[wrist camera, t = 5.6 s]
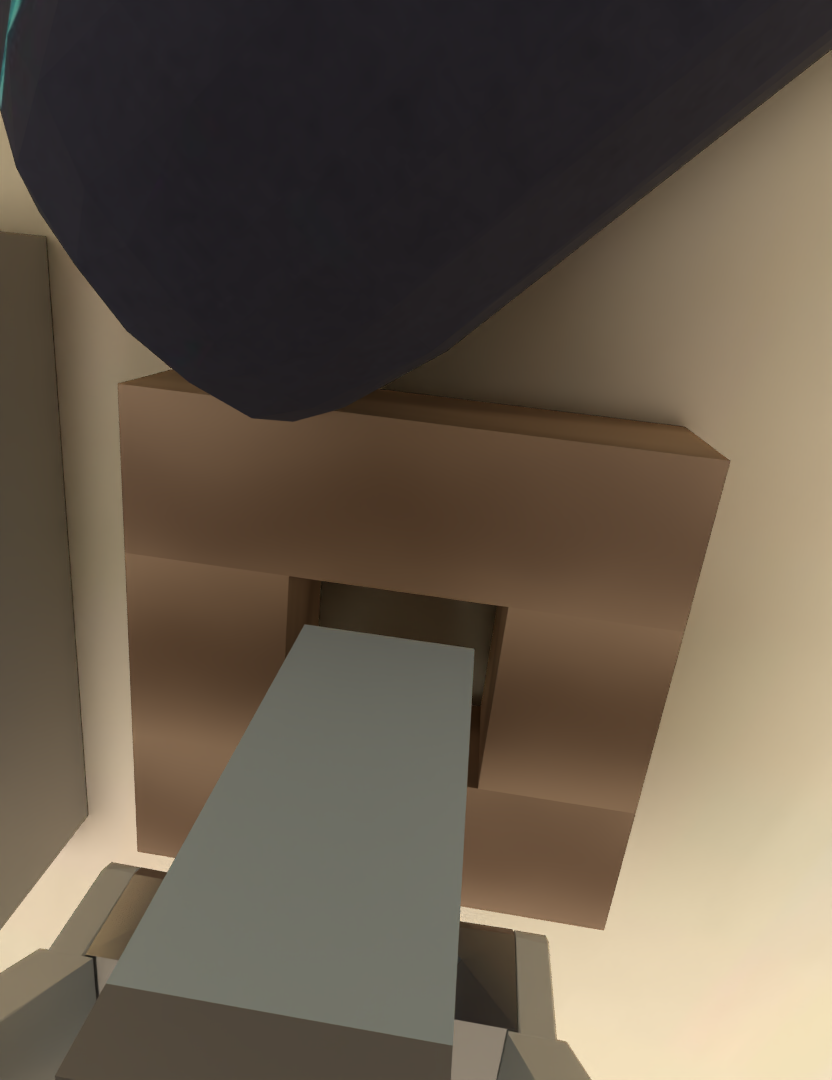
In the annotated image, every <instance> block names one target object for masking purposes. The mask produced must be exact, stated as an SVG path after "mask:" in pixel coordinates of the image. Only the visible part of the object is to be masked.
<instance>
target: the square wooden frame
mask: <svg viewBox="0 0 832 1080" xmlns="http://www.w3.org/2000/svg"><path fill="white" fill-rule="evenodd" d="M118 404H119V427H120V451H121V474H122V498H123V521H124V545H125V568H126V592H127V615H128V639H129V662H130V686H131V709H132V733H133V756H134V780H135V803H136V827H137V850H138V852H143V853H149V854H155V855H161V856H167V857H173V858H176V856H177V854H178V852H179V850H180V849H181V847H182V845H183V843H184V841H185V839H186V838H187V836H188V834H189V832H190V830H191V829H192V827H193V825H194V823H195V821H196V820H197V818H198V816H199V814H200V812H201V811H202V809H203V807H204V805H205V803H206V802H207V800H208V798H209V796H210V794H211V792H212V791H213V789H214V787H215V785H216V783H217V782H218V780H219V778H220V776H221V774H222V773H223V771H224V769H225V767H226V765H227V764H228V762H229V760H230V758H231V756H232V755H233V753H234V751H235V749H236V747H237V746H238V744H239V742H240V740H241V738H242V736H243V735H244V733H245V731H246V729H247V727H248V726H249V724H250V722H251V720H252V718H253V717H254V715H255V713H256V711H257V709H258V708H259V706H260V704H261V702H262V700H263V699H264V697H265V695H266V693H267V691H268V689H269V688H270V686H271V684H272V682H273V680H274V679H275V677H276V675H277V673H278V671H279V670H280V668H281V666H282V664H283V662H284V661H285V659H286V657H287V655H288V653H289V652H290V650H291V648H292V646H293V644H294V642H295V641H296V639H297V637H298V635H299V633H300V632H301V630H302V628H303V626H304V624H306V625H313V626H319V612H320V596H321V581H327V582H334V583H341V584H348V585H355V586H362V587H369V588H377V589H384V590H391V591H398V592H405V593H412V594H419V595H426V596H433V597H440V598H447V599H454V600H461V601H468V602H475V603H482V604H489V605H497V609H496V615H495V621H494V627H493V634H492V640H491V646H490V652H489V658H488V664H487V671H486V677H485V683H484V689H483V695H482V701H481V706H475V705H471V723H470V741H469V760H468V778H467V796H466V814H465V832H464V850H463V869H462V887H461V905H460V906H463V907H469V908H475V909H480V910H486V911H492V912H498V913H504V914H510V915H516V916H522V917H528V918H534V919H540V920H546V921H551V922H557V923H563V924H569V925H575V926H581V927H587V928H593V929H599V930H604V928H605V924H606V921H607V917H608V913H609V910H610V906H611V902H612V898H613V895H614V891H615V887H616V884H617V880H618V876H619V873H620V869H621V865H622V861H623V858H624V854H625V850H626V847H627V843H628V839H629V835H630V832H631V828H632V824H633V821H634V817H635V813H636V809H637V806H638V802H639V798H640V795H641V791H642V787H643V783H644V780H645V776H646V772H647V769H648V765H649V761H650V758H651V754H652V750H653V746H654V743H655V739H656V735H657V732H658V728H659V724H660V720H661V717H662V713H663V709H664V706H665V702H666V698H667V694H668V691H669V687H670V683H671V680H672V676H673V672H674V668H675V665H676V661H677V657H678V654H679V650H680V646H681V643H682V639H683V635H684V631H685V628H686V624H687V620H688V617H689V613H690V609H691V605H692V602H693V598H694V594H695V591H696V587H697V583H698V579H699V576H700V572H701V568H702V565H703V561H704V557H705V553H706V550H707V546H708V542H709V539H710V535H711V531H712V528H713V524H714V520H715V516H716V513H717V509H718V505H719V502H720V498H721V494H722V490H723V487H724V483H725V479H726V476H727V472H728V468H729V464H730V460H728V459H727V458H726V457H724V456H723V455H722V454H720V453H719V452H718V451H716V450H715V449H714V448H712V447H711V446H710V445H708V444H707V443H706V442H704V441H703V440H702V439H700V438H699V437H698V436H696V435H695V434H694V433H692V432H691V431H690V430H688V429H687V428H686V427H682V426H674V425H666V424H658V423H650V422H642V421H634V420H626V419H618V418H610V417H602V416H594V415H585V414H577V413H569V412H561V411H553V410H545V409H537V408H529V407H521V406H513V405H505V404H496V403H488V402H480V401H472V400H464V399H456V398H448V397H440V396H432V395H424V394H416V393H407V392H399V391H391V390H383V389H377V390H375V391H373V392H372V393H370V394H368V395H366V396H364V397H362V398H361V399H359V400H357V401H355V402H353V403H352V404H350V405H348V406H346V407H343V408H340V409H337V410H334V411H331V412H327V413H324V414H320V415H316V416H313V417H309V418H305V419H302V420H298V421H294V422H289V421H277V420H265V419H253V418H250V417H248V416H247V415H245V414H243V413H241V412H240V411H238V410H236V409H234V408H233V407H231V406H229V405H227V404H226V403H224V402H222V401H220V400H219V399H217V398H215V397H213V396H212V395H210V394H208V393H206V392H205V391H203V390H201V389H199V388H198V387H196V386H194V385H192V384H191V383H189V382H188V381H187V380H185V379H184V378H183V377H182V376H181V375H179V374H178V373H177V372H176V371H175V370H173V369H172V370H168V371H164V372H161V373H157V374H153V375H149V376H145V377H141V378H138V379H134V380H130V381H126V382H122V383H118Z"/></svg>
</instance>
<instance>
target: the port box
mask: <svg viewBox="0 0 832 1080" xmlns="http://www.w3.org/2000/svg"><path fill="white" fill-rule="evenodd" d="M87 816H88V810H87V796H86V782H85V768H84V755H83V741H82V727H81V713H80V700H79V686H78V672H77V658H76V645H75V631H74V617H73V603H72V590H71V576H70V562H69V548H68V534H67V521H66V507H65V493H64V479H63V466H62V452H61V438H60V424H59V411H58V397H57V383H56V369H55V355H54V342H53V328H52V314H51V300H50V287H49V273H48V259H47V245H46V236H37V235H28V234H19V233H10V232H2V231H0V930H1V928H2V927H3V926H4V924H5V923H6V922H7V921H8V919H9V918H10V917H11V915H12V914H13V913H14V911H15V910H16V909H17V907H18V906H19V905H20V904H21V902H22V901H23V900H24V898H25V897H26V896H27V894H28V893H29V892H30V891H31V889H32V888H33V887H34V885H35V884H36V883H37V881H38V880H39V879H40V878H41V876H42V875H43V874H44V872H45V871H46V870H47V868H48V867H49V866H50V865H51V863H52V862H53V861H54V859H55V858H56V857H57V855H58V854H59V853H60V852H61V850H62V849H63V848H64V846H65V845H66V844H67V842H68V841H69V840H70V838H71V837H72V836H73V835H74V833H75V832H76V831H77V829H78V828H79V827H80V825H81V824H82V823H83V822H84V820H85V819H86V818H87Z"/></svg>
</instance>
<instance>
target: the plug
mask: <svg viewBox="0 0 832 1080" xmlns="http://www.w3.org/2000/svg"><path fill="white" fill-rule="evenodd" d="M474 650H475V649H473V648H466V647H459V646H452V645H445V644H438V643H431V642H424V641H417V640H410V639H403V638H396V637H390V636H383V635H376V634H369V633H362V632H355V631H348V630H341V629H334V628H327V627H320V626H313V625H306V624H304V626H303V628H302V630H301V632H300V633H299V635H298V637H297V639H296V641H295V642H294V644H293V646H292V648H291V650H290V652H289V653H288V655H287V657H286V659H285V661H284V662H283V664H282V666H281V668H280V670H279V671H278V673H277V675H276V677H275V679H274V680H273V682H272V684H271V686H270V688H269V689H268V691H267V693H266V695H265V697H264V699H263V700H262V702H261V704H260V706H259V708H258V709H257V711H256V713H255V715H254V717H253V718H252V720H251V722H250V724H249V726H248V727H247V729H246V731H245V733H244V735H243V736H242V738H241V740H240V742H239V744H238V746H237V747H236V749H235V751H234V753H233V755H232V756H231V758H230V760H229V762H228V764H227V765H226V767H225V769H224V771H223V773H222V774H221V776H220V778H219V780H218V782H217V783H216V785H215V787H214V789H213V791H212V792H211V794H210V796H209V798H208V800H207V802H206V803H205V805H204V807H203V809H202V811H201V812H200V814H199V816H198V818H197V820H196V821H195V823H194V825H193V827H192V829H191V830H190V832H189V834H188V836H187V838H186V839H185V841H184V843H183V845H182V847H181V849H180V850H179V852H178V854H177V856H176V858H175V859H174V861H173V863H172V865H171V867H170V868H169V870H168V872H167V874H166V876H165V877H164V879H163V881H162V883H161V885H160V886H159V888H158V890H157V892H156V894H155V896H154V897H153V899H152V901H151V903H150V905H149V906H148V908H147V910H146V912H145V914H144V915H143V917H142V919H141V921H140V923H139V924H138V926H137V928H136V930H135V932H134V933H133V935H132V937H131V939H130V941H129V942H128V944H127V946H126V948H125V950H124V952H123V953H122V955H121V957H120V959H119V961H118V962H117V964H116V966H115V968H114V970H113V971H112V973H111V975H110V977H109V979H108V980H107V982H106V984H105V986H104V988H103V989H102V991H101V993H100V995H99V997H98V999H97V1000H96V1002H95V1004H94V1006H93V1008H92V1009H91V1011H90V1013H89V1015H88V1017H87V1018H86V1020H85V1022H84V1024H83V1026H82V1027H81V1029H80V1031H79V1033H78V1035H77V1036H76V1038H75V1040H74V1042H73V1044H72V1046H71V1047H70V1049H69V1051H68V1053H67V1055H66V1056H65V1058H64V1060H63V1062H62V1064H61V1065H60V1067H59V1069H58V1071H57V1073H56V1074H55V1080H451V1068H452V1050H453V1032H454V1014H455V996H456V978H457V959H458V941H459V923H460V905H461V887H462V869H463V850H464V832H465V814H466V796H467V778H468V760H469V741H470V723H471V705H472V687H473V669H474Z"/></svg>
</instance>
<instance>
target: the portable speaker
mask: <svg viewBox="0 0 832 1080" xmlns="http://www.w3.org/2000/svg"><path fill="white" fill-rule="evenodd" d="M831 49H832V0H0V111H1V114H2V118H3V122H4V125H5V129H6V132H7V136H8V139H9V143H10V147H11V150H12V154H13V157H14V161H15V165H16V168H17V170H18V172H19V174H20V176H21V178H22V179H23V181H24V183H25V185H26V187H27V189H28V191H29V193H30V195H31V197H32V199H33V201H34V203H35V205H36V207H37V209H38V211H39V212H40V214H41V215H42V217H43V218H44V220H45V221H46V223H47V224H48V226H49V227H50V229H51V230H52V232H53V233H54V235H55V236H56V238H57V239H58V240H59V242H60V243H61V245H62V246H63V248H64V249H65V251H66V252H67V254H68V255H69V257H70V258H71V260H72V261H73V263H74V264H75V266H76V267H77V268H78V269H79V271H80V272H81V273H82V275H83V276H84V277H85V278H86V280H87V281H88V282H89V283H90V285H91V286H92V287H93V289H94V290H95V291H96V292H97V294H98V295H99V296H100V297H101V299H102V300H103V301H104V303H105V304H106V305H107V306H108V308H109V309H110V310H111V311H112V313H113V314H114V315H115V317H116V318H117V319H118V320H119V322H120V323H121V324H122V326H123V327H124V328H125V329H126V331H127V332H129V333H130V334H131V335H132V336H133V337H135V338H136V339H137V340H138V341H139V342H141V343H142V344H143V345H144V346H146V347H147V348H148V349H149V350H150V351H152V352H153V353H154V354H155V355H156V356H158V357H159V358H160V359H161V360H162V361H164V362H165V363H166V364H167V365H168V366H170V367H171V368H172V369H173V370H175V371H176V372H177V373H178V374H179V375H181V376H182V377H183V378H184V379H185V380H187V381H188V382H189V383H191V384H192V385H194V386H196V387H198V388H199V389H201V390H203V391H205V392H206V393H208V394H210V395H212V396H213V397H215V398H217V399H219V400H220V401H222V402H224V403H226V404H227V405H229V406H231V407H233V408H234V409H236V410H238V411H240V412H241V413H243V414H245V415H247V416H248V417H250V418H253V419H265V420H277V421H289V422H294V421H298V420H302V419H305V418H309V417H313V416H316V415H320V414H324V413H327V412H331V411H334V410H337V409H340V408H343V407H346V406H348V405H350V404H352V403H353V402H355V401H357V400H359V399H361V398H362V397H364V396H366V395H368V394H370V393H372V392H373V391H375V390H377V389H379V388H381V387H382V386H384V385H386V384H388V383H390V382H392V381H393V380H395V379H397V378H399V377H401V376H402V375H404V374H406V373H408V372H410V371H412V370H413V369H415V368H417V367H419V366H421V365H422V364H424V363H426V362H428V361H430V360H432V359H433V358H435V357H437V356H439V355H441V354H442V353H444V352H446V351H448V350H449V349H450V348H451V347H453V346H454V345H455V344H457V343H458V342H459V341H460V340H462V339H463V338H464V337H465V336H467V335H468V334H469V333H471V332H472V331H473V330H474V329H476V328H477V327H478V326H480V325H481V324H482V323H483V322H485V321H486V320H487V319H488V318H490V317H491V316H492V315H494V314H495V313H496V312H497V311H499V310H500V309H501V308H502V307H504V306H505V305H506V304H508V303H509V302H510V301H511V300H513V299H514V298H515V297H516V296H518V295H519V294H520V293H522V292H523V291H524V290H525V289H527V288H528V287H529V286H530V285H532V284H533V283H534V282H536V281H537V280H538V279H539V278H541V277H542V276H543V275H545V274H546V273H547V272H548V271H550V270H551V269H552V268H553V267H555V266H556V265H557V264H559V263H560V262H561V261H562V260H564V259H565V258H566V257H567V256H569V255H570V254H571V253H573V252H574V251H575V250H576V249H578V248H579V247H580V246H581V245H583V244H584V243H585V242H587V241H588V240H589V239H590V238H592V237H593V236H594V235H595V234H597V233H598V232H599V231H601V230H602V229H603V228H604V227H606V226H607V225H608V224H609V223H611V222H612V221H613V220H615V219H616V218H617V217H618V216H620V215H621V214H622V213H624V212H625V211H626V210H627V209H629V208H630V207H631V206H632V205H634V204H635V203H636V202H638V201H639V200H640V199H641V198H643V197H644V196H645V195H646V194H648V193H649V192H650V191H652V190H653V189H654V188H655V187H657V186H658V185H659V184H660V183H662V182H663V181H664V180H666V179H667V178H668V177H669V176H671V175H672V174H673V173H674V172H676V171H677V170H678V169H680V168H681V167H682V166H683V165H685V164H686V163H687V162H688V161H690V160H691V159H692V158H694V157H695V156H696V155H697V154H699V153H700V152H701V151H703V150H704V149H705V148H706V147H708V146H709V145H710V144H711V143H713V142H714V141H715V140H717V139H718V138H719V137H720V136H722V135H723V134H724V133H725V132H727V131H728V130H729V129H731V128H732V127H733V126H734V125H736V124H737V123H738V122H739V121H741V120H742V119H743V118H745V117H746V116H747V115H748V114H750V113H751V112H752V111H753V110H755V109H756V108H757V107H759V106H760V105H761V104H762V103H764V102H765V101H766V100H768V99H769V98H770V97H771V96H773V95H774V94H775V93H776V92H778V91H779V90H780V89H782V88H783V87H784V86H785V85H787V84H788V83H789V82H790V81H792V80H793V79H794V78H796V77H797V76H798V75H799V74H801V73H802V72H803V71H804V70H806V69H807V68H808V67H810V66H811V65H812V64H813V63H815V62H816V61H817V60H818V59H820V58H821V57H822V56H824V55H825V54H826V53H827V52H829V51H830V50H831Z"/></svg>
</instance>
